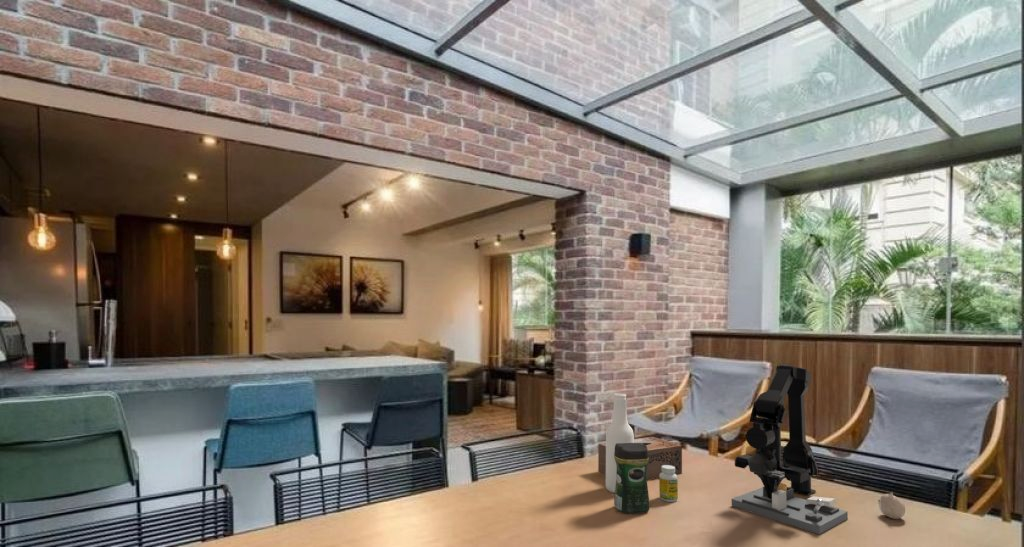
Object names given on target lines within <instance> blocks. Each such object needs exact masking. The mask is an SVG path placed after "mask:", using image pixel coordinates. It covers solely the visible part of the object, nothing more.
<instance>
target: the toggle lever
mask: <svg viewBox="0 0 1024 547" xmlns="http://www.w3.org/2000/svg"><path fill="white" fill-rule="evenodd" d="M816 503H817V504H816V506H815V508H814V510H813V513H814V514H817V512H818V511H819V509H820V507H821V506H823V505H824V501H823V500H822V499H817V500H816Z"/></svg>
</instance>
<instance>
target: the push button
mask: <svg viewBox="0 0 1024 547" xmlns="http://www.w3.org/2000/svg"><path fill="white" fill-rule="evenodd" d="M787 487H788V485H787V484H786V483H783V482H781V483H780V484H779V486H778V489H777V490H778V491H779V490H783V491H787Z"/></svg>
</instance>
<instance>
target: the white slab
mask: <svg viewBox="0 0 1024 547" xmlns="http://www.w3.org/2000/svg"><path fill="white" fill-rule="evenodd" d="M817 499H822V500H823V501H824V505H823V506H832V507H833V506H834V505H835V504H837V501H836V498H831V497H821V496H810V497H809V498H806V500H807V504H815V505H816V504H817V503H816V500H817Z"/></svg>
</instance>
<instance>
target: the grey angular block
mask: <svg viewBox="0 0 1024 547" xmlns="http://www.w3.org/2000/svg"><path fill="white" fill-rule="evenodd" d="M786 507H787V503H786V491H783V490H779V491H776V492H773V493H772V508H773V509H777V510H782V509H784V508H786Z"/></svg>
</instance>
